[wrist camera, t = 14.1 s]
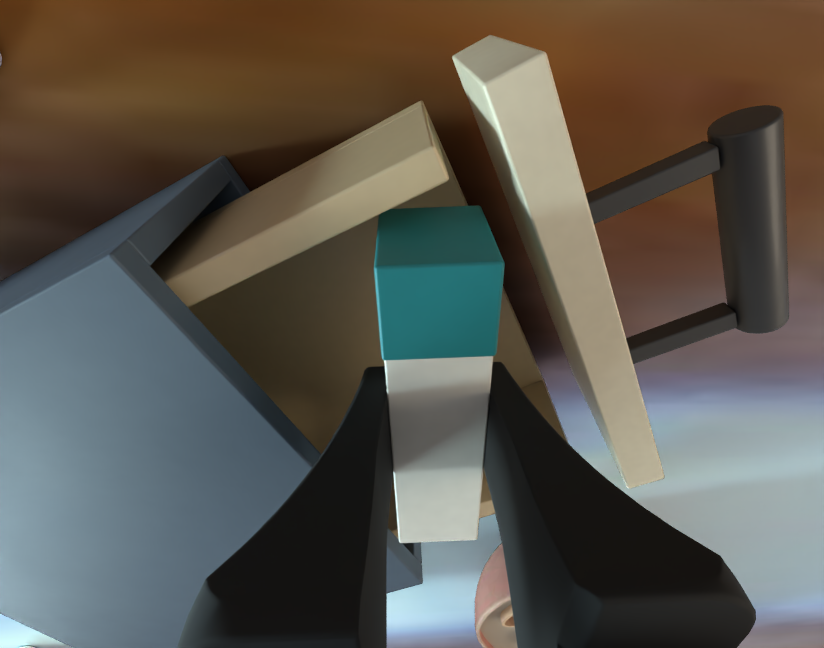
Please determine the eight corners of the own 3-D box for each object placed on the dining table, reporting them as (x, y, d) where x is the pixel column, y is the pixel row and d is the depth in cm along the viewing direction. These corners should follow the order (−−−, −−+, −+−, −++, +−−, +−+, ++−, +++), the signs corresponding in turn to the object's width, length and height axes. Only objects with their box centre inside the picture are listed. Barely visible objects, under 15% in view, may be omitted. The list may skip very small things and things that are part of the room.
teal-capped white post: (466, 461, 17) (479, 544, 14) (397, 464, 17) (397, 546, 14) (481, 204, 11) (505, 262, 9) (378, 208, 11) (373, 267, 9)
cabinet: (225, 154, 15) (110, 253, 9) (416, 427, 23) (423, 584, 17) (-69, 320, 18) (-299, 476, 12) (182, 512, 26) (116, 668, 20)
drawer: (666, -63, 12) (846, -109, 7) (718, 323, 19) (827, 431, 14) (121, 237, 16) (5, 335, 11) (327, 463, 23) (310, 583, 18)
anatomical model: (700, 624, 36) (740, 706, 31) (579, 659, 39) (601, 738, 34) (579, 467, 25) (616, 560, 21) (424, 533, 28) (429, 625, 24)
